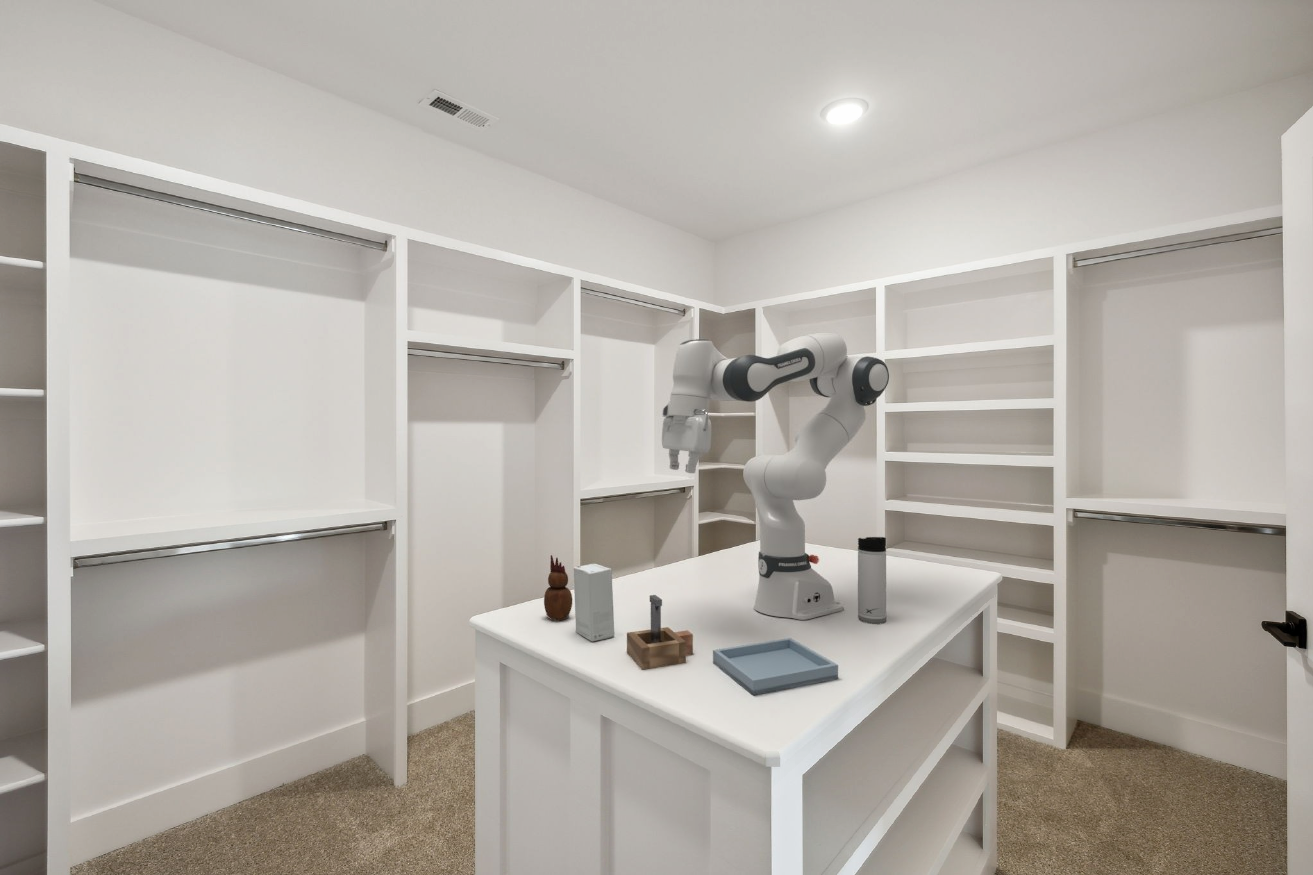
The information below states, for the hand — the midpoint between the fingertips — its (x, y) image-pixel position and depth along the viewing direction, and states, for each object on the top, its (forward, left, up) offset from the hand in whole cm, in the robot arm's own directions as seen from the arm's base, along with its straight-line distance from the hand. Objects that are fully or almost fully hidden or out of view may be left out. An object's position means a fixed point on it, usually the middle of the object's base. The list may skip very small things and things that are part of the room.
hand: (681, 471), depth 127 cm
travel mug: (-45, +11, -36) cm, 58 cm away
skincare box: (+19, -4, -36) cm, 41 cm away
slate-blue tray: (-7, +27, -36) cm, 45 cm away
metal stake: (+11, +13, -36) cm, 40 cm away
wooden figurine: (+24, -18, -36) cm, 47 cm away
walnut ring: (+10, +13, -36) cm, 39 cm away
